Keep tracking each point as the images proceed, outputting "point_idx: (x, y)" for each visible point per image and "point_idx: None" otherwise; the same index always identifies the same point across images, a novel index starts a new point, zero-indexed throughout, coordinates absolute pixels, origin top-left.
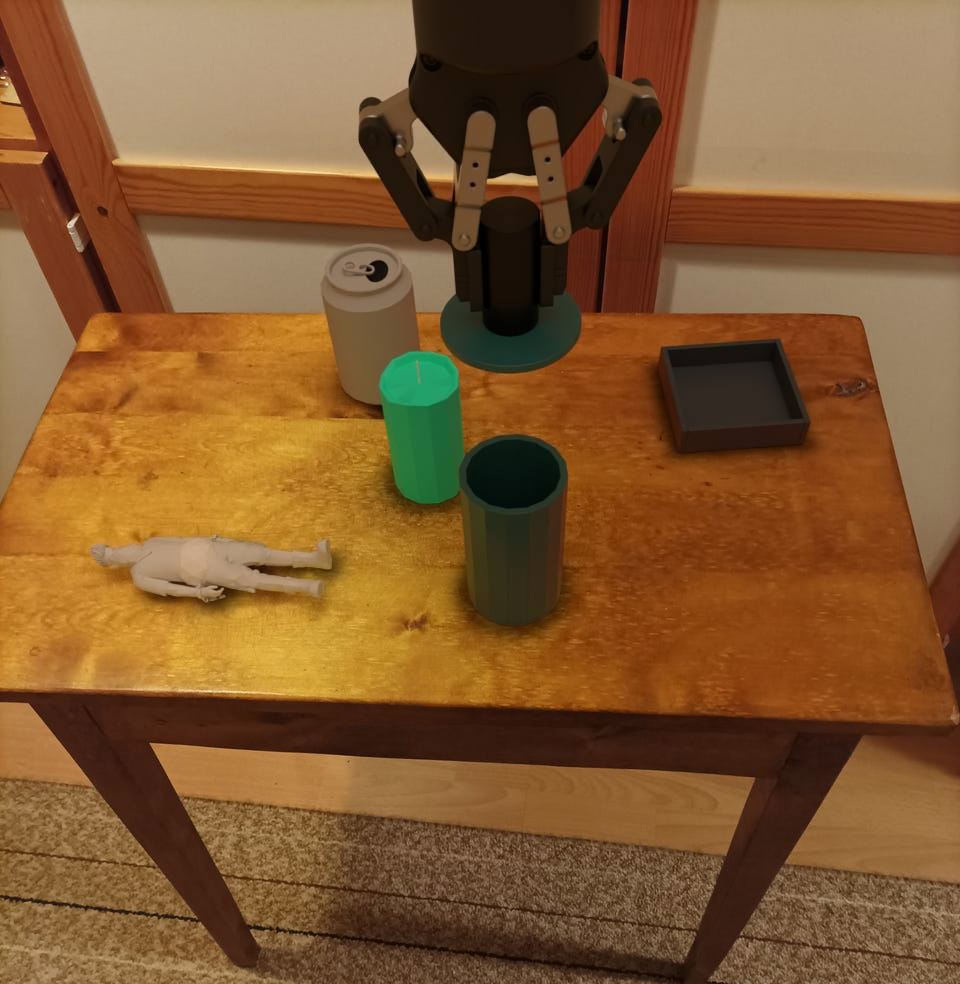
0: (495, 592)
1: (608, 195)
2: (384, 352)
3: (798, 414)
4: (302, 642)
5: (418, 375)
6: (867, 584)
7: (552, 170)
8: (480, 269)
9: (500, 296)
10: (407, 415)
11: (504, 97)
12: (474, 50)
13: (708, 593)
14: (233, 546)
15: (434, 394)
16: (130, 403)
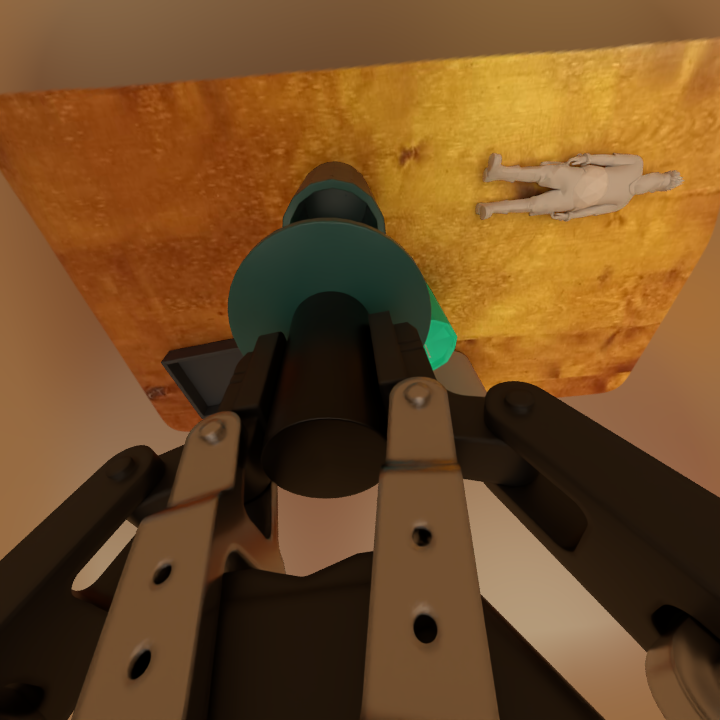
0: (345, 167)
1: (65, 525)
2: (447, 378)
3: (173, 368)
4: (500, 121)
5: (426, 348)
6: (80, 237)
7: (145, 610)
8: (377, 356)
9: (339, 326)
10: (432, 314)
11: None
12: None
13: (191, 215)
14: (558, 204)
15: None
16: (607, 336)
